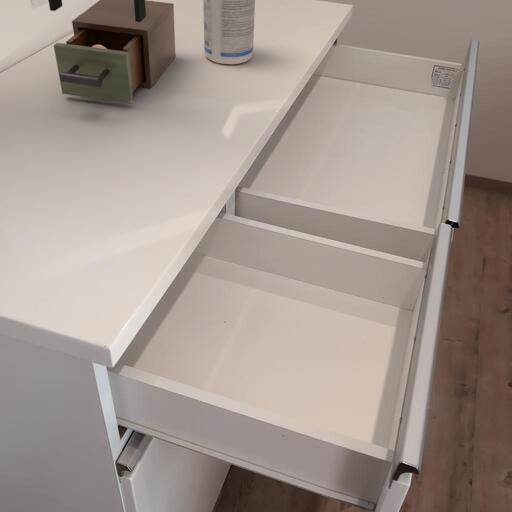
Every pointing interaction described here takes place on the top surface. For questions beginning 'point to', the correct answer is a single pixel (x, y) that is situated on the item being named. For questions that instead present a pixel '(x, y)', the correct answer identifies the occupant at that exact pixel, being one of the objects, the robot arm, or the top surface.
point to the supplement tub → (228, 30)
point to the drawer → (101, 65)
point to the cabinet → (137, 30)
